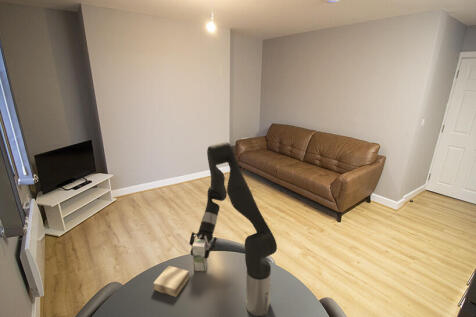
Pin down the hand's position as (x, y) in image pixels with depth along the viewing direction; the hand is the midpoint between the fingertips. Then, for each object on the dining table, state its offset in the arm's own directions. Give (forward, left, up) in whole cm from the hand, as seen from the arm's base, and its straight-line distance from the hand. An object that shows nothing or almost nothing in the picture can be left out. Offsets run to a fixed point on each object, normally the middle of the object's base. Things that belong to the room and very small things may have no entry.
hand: (198, 256), depth 111 cm
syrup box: (0, -2, -8) cm, 8 cm away
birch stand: (+8, +12, -7) cm, 16 cm away
